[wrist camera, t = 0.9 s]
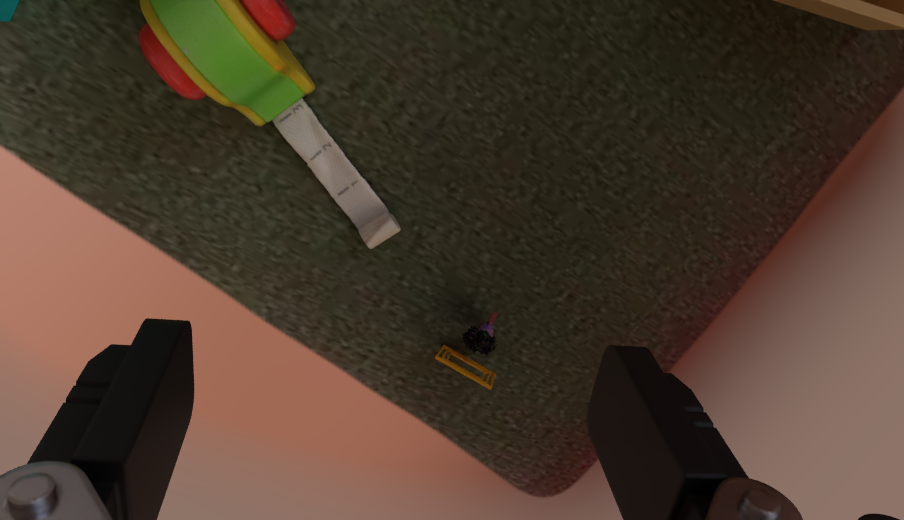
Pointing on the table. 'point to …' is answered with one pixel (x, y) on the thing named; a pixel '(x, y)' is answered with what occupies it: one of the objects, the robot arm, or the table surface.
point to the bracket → (7, 9)
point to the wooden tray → (856, 12)
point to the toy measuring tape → (257, 86)
